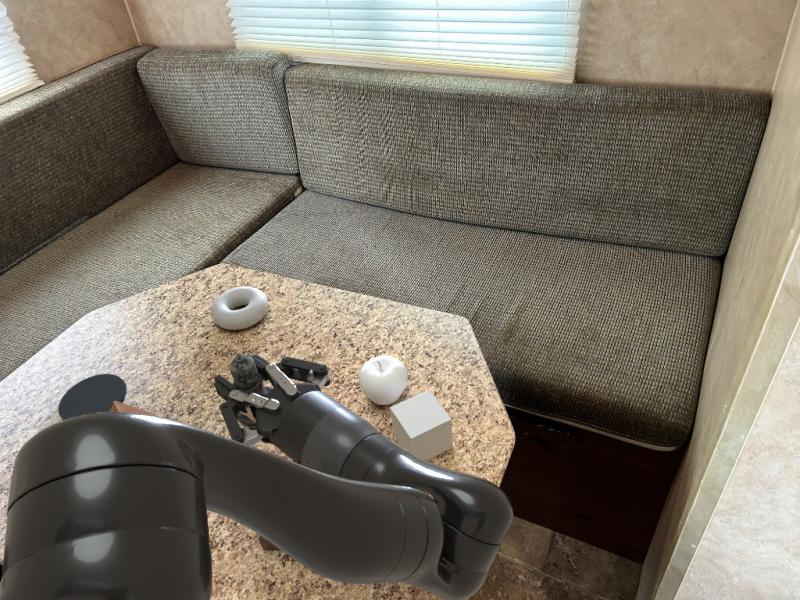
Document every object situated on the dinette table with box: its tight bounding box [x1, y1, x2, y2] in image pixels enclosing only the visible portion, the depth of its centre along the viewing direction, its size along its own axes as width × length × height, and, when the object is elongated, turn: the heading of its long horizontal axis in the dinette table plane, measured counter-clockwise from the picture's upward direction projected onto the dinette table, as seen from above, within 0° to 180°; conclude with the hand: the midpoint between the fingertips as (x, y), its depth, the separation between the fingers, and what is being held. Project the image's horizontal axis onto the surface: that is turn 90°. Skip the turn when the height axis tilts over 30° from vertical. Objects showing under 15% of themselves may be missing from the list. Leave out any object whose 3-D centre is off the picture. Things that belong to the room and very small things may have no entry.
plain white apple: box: [358, 355, 409, 406], centre depth 88 cm, size 7×7×8 cm
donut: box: [210, 286, 269, 331], centre depth 107 cm, size 10×4×10 cm
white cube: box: [389, 389, 454, 461], centre depth 81 cm, size 6×6×6 cm
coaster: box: [57, 373, 128, 421], centre depth 94 cm, size 10×10×1 cm
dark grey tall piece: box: [228, 352, 274, 430], centre depth 71 cm, size 6×6×12 cm
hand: (233, 371), depth 72 cm, fingers closed on dark grey tall piece, 3 cm apart
